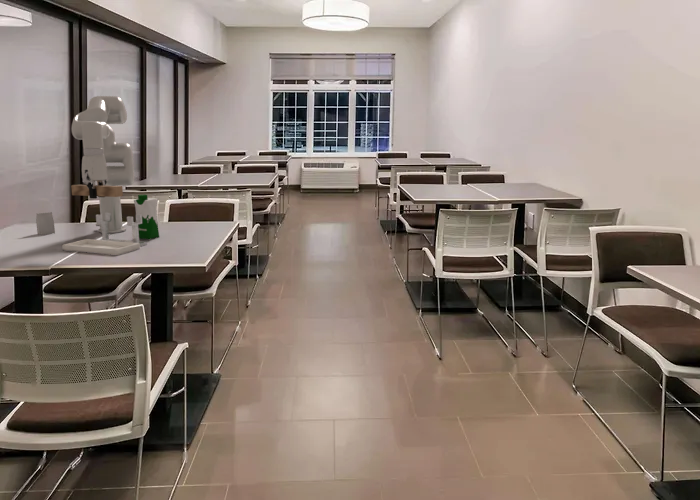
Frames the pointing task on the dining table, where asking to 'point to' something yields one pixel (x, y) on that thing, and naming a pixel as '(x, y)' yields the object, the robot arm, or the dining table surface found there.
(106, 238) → the steel stand
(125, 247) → the off-white tray
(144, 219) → the milk carton
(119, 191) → the walnut rail
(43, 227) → the grey block
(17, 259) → the dining table surface
